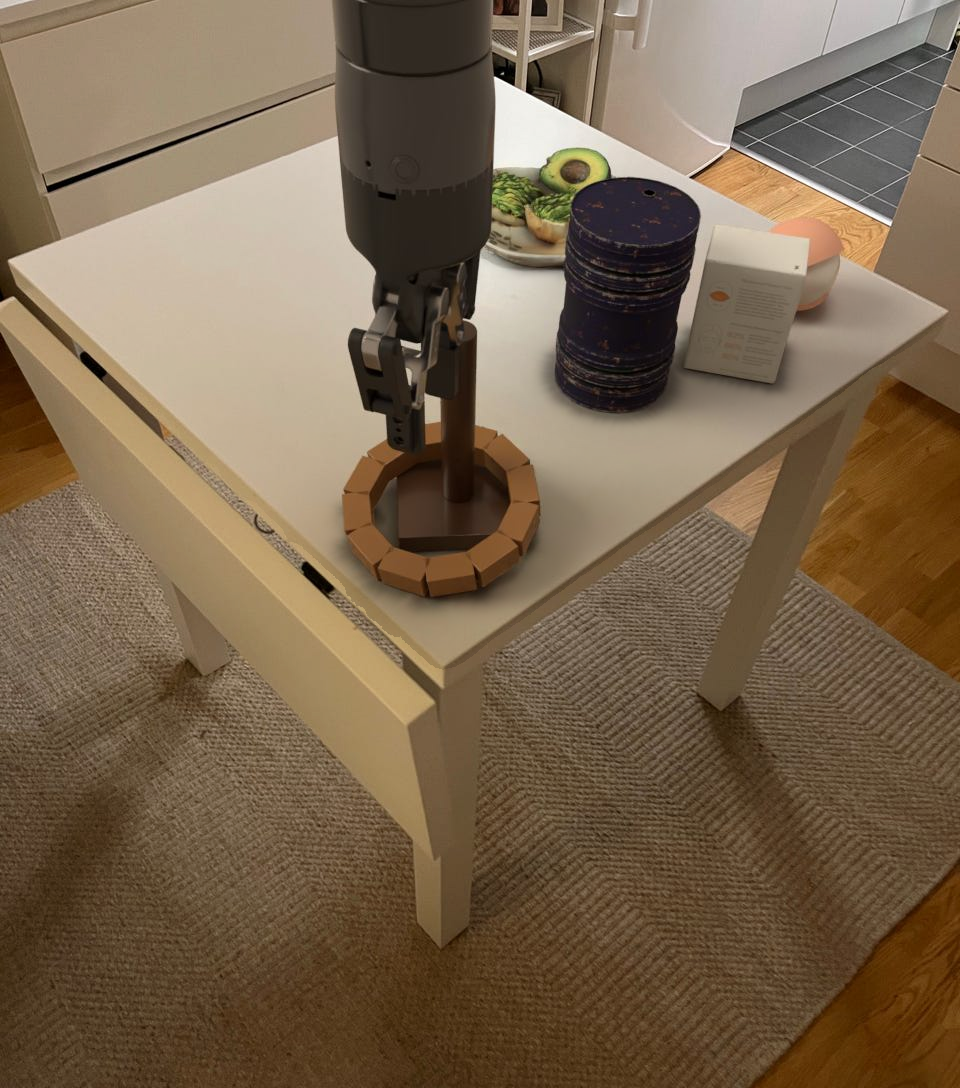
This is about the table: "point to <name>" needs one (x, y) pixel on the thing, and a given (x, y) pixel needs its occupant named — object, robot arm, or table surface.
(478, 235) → the robot arm
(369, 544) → the ring
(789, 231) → the toy ball
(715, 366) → the small box
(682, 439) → the table surface
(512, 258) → the avocado toast plate
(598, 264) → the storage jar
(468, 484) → the peg
